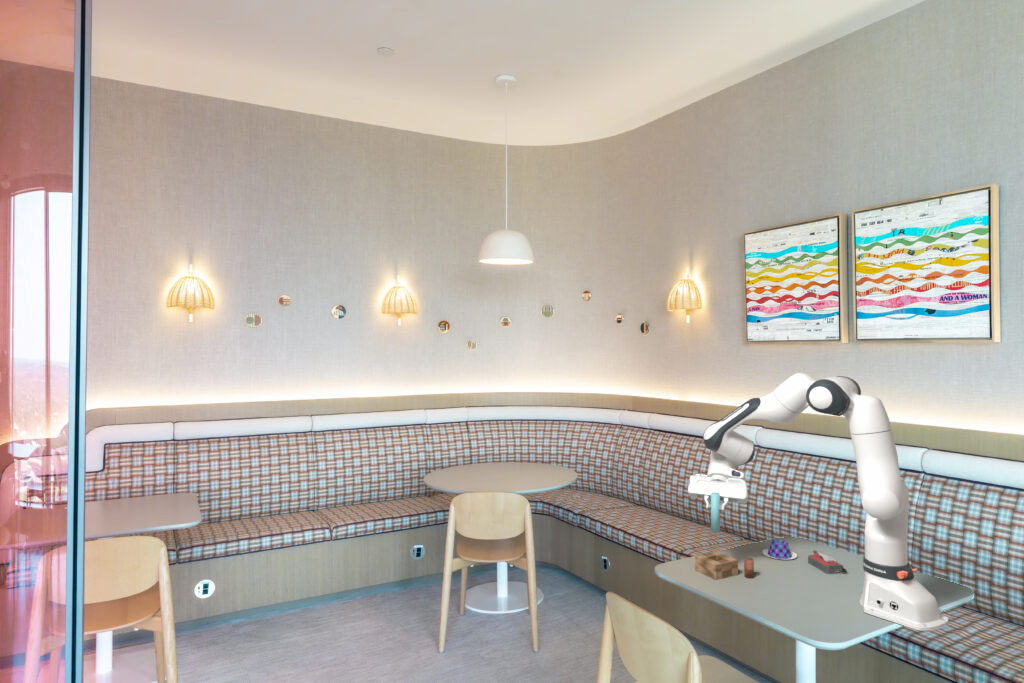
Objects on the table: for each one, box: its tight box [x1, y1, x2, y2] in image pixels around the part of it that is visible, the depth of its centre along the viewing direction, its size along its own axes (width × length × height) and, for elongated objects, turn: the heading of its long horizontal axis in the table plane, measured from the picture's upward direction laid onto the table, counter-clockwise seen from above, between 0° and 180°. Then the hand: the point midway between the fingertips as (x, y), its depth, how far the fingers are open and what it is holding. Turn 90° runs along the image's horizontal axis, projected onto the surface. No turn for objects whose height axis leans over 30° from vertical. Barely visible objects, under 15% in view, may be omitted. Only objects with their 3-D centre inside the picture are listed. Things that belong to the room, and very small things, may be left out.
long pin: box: [710, 493, 721, 533], centre depth 212 cm, size 3×3×13 cm
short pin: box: [743, 557, 755, 579], centre depth 208 cm, size 3×3×6 cm
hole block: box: [694, 551, 739, 581], centre depth 213 cm, size 10×10×5 cm
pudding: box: [761, 539, 798, 561], centre depth 228 cm, size 12×12×5 cm
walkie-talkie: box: [807, 550, 847, 575], centre depth 219 cm, size 9×4×20 cm
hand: (715, 510), depth 212 cm, fingers closed on long pin, 3 cm apart
